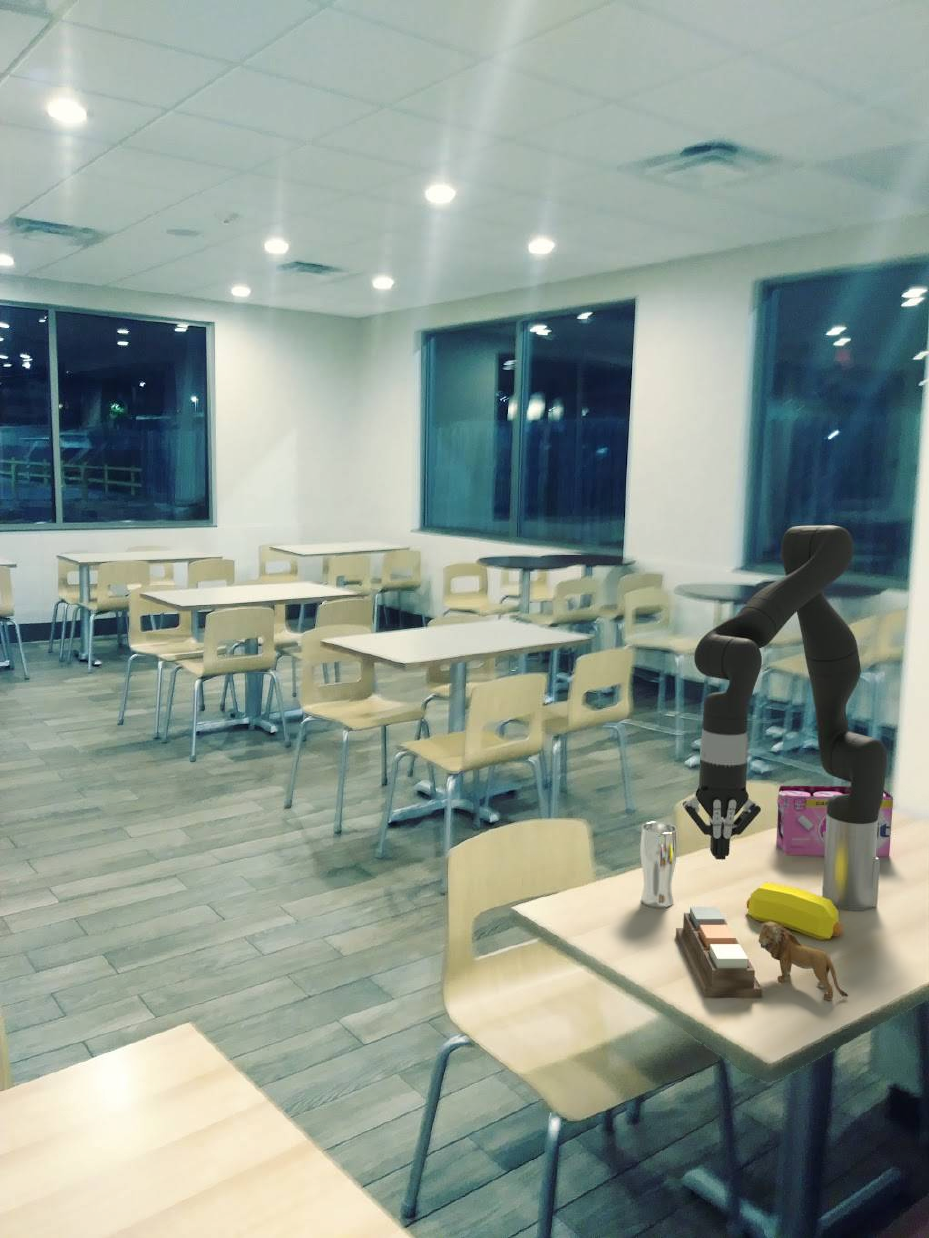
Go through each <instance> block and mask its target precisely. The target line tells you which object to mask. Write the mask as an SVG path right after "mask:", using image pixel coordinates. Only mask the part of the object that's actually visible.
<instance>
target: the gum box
mask: <svg viewBox="0 0 929 1238" xmlns="http://www.w3.org/2000/svg"><path fill="white" fill-rule="evenodd" d="M850 787H851V785H848V786H847V785H779V788H778V795H777V800H776V803H777V824H776V843H777V845H778V846H779V848H780V849H781V850H782V851H783V853H784V854H785V855H786V856H821V857H823V856H824V853H825V834H826V815H827V802H828V800H829V799H830V798H831V797H833V796H836V795H841V794H849V792H850ZM893 806H894V797H893V796H892V795H891V794H890V793H889V792H888V791H886V790H885V789H884V793H883V800H882V804H881V807H880V810H879V814H878V826H877V844H876V857H887V858H888V857H890V854H891V853H890V852H891V840H892V839H891V835H892V823H893Z"/></svg>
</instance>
